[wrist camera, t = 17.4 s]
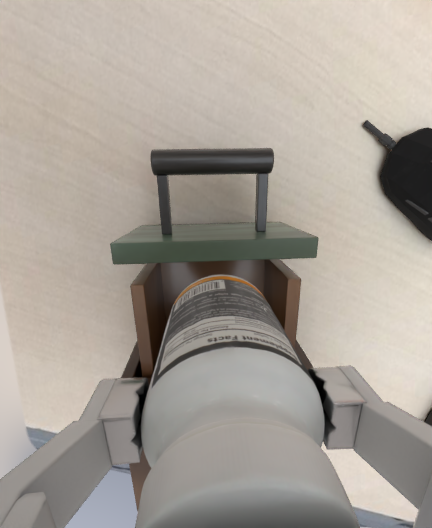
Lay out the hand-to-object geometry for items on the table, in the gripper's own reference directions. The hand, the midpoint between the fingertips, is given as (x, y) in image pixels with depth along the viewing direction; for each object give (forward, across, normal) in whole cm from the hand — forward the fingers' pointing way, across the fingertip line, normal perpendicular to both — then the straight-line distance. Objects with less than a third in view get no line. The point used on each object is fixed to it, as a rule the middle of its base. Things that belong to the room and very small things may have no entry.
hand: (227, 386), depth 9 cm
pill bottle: (+6, 0, 0) cm, 6 cm away
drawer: (+13, 0, 0) cm, 13 cm away
